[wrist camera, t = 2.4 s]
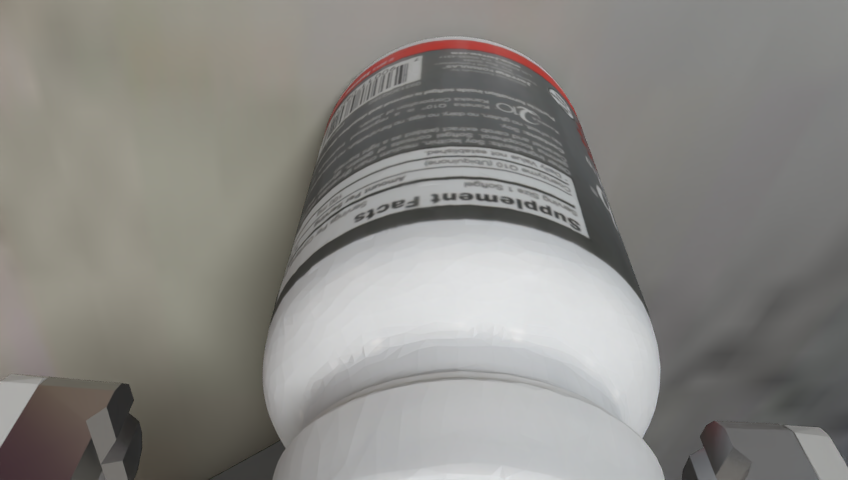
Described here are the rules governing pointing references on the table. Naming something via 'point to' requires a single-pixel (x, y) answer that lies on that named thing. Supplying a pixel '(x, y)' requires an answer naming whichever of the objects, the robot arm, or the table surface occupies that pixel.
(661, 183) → the table surface
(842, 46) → the table surface
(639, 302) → the pill bottle
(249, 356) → the table surface
